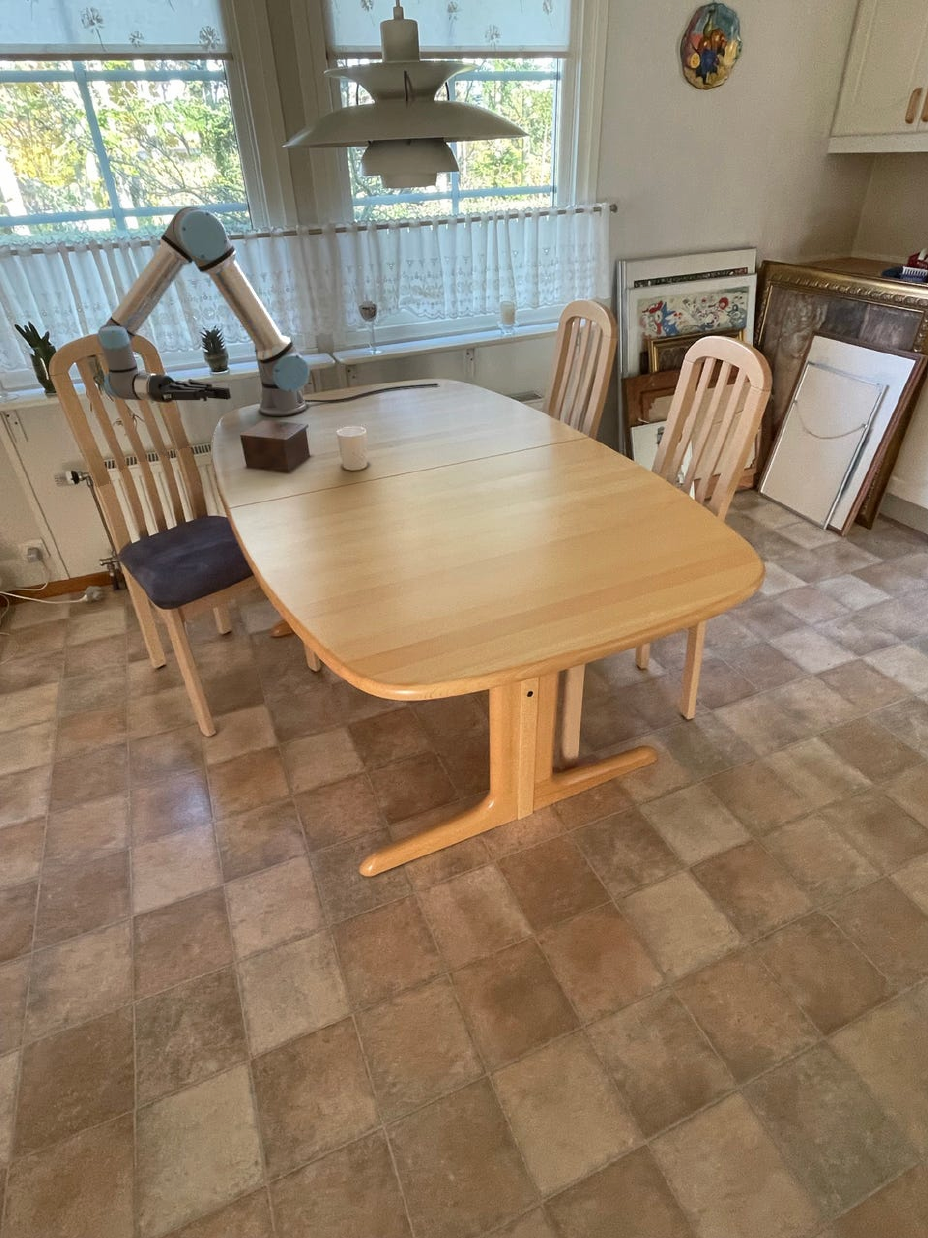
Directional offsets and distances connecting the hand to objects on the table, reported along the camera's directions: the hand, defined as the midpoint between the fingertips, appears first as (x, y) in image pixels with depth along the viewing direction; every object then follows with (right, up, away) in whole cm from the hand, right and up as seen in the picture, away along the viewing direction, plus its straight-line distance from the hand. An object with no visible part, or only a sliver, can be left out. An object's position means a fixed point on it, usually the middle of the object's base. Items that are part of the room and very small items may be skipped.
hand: (228, 393), depth 191 cm
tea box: (+12, -17, +7) cm, 22 cm away
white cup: (+34, -19, +4) cm, 40 cm away
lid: (+12, -10, +2) cm, 16 cm away
